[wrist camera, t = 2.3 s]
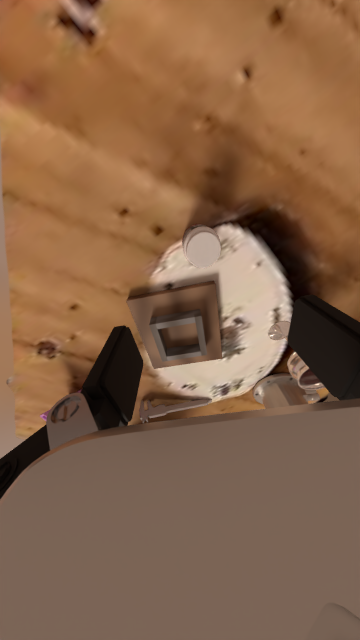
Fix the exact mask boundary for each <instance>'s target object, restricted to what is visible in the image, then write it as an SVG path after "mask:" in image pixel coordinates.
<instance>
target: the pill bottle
mask: <svg viewBox="0 0 360 640" xmlns="http://www.w3.org/2000/svg"><path fill="white" fill-rule="evenodd" d="M182 243H183V251H184V254H185V257H186V258H187V260H188V261H189V262H190V263H191V264H192V265H194V266H195V267H198V268H207V267H210V266H212V265H213V264H214V263H215V262H216V261H217V260H218V258H219V256H220V252H221V245H220V240H219V237H218V235H217V233H216V232H215V231H214V230H213V229H211V228H209V227H207V226H205V225H202V224H195V225H192V226H190V227H189V228H188V229H187V230H186V232H185V233H184V236H183V240H182Z"/></svg>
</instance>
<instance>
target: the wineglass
mask: <svg viewBox="0 0 360 640" xmlns="http://www.w3.org/2000/svg"><path fill="white" fill-rule="evenodd" d="M289 328H290V323H289V322H286V321H282V322H278V323H276V324H274V325H273V326H272V327H271V328H270V330H269V332H268V335H269V337H270V338H271V339H273V340H281V339H283V338H285V339H286V340H287V336H288V333H289ZM287 342H288V341H287ZM288 369H289V372H290V374H291V376H292V377H293V378H294V379H295V380H297V381H298V385H299V386H300V387H301V388H303V389H306V390H317V389H321V388H325V386H324V385H323V384H322V383H321V381H320V380H319V379H318V378H317V377H316V376H315V374H314V373H313V372H312V371H311V370H310V369H309V367H308V366H307V365H306V364H305V363H304V361H303V360H302V359H301V358H300V357H299V356H298V354H297V353H296V352H293V353H292V355H291V356H290V358H289V360H288Z"/></svg>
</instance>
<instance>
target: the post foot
mask: <svg viewBox="0 0 360 640" xmlns="http://www.w3.org/2000/svg"><path fill="white" fill-rule="evenodd" d="M127 304H128V306H129V309H130V311H131V314H132V316H133V318H134V321H135V323H136V326H137V328H138V331H139V333H140V336H141V338H142V341H143V343H144V345H145V348H146V350H147V353H148V355H149V358H150V360H151V363H152V365H153V367H154V369H156V368H163V367H169V366H176V365H182V364H189V363H196V362H202V361H209V360H216V359H222V350H221V339H220V328H219V317H218V306H217V295H216V284H215V282H214V281H210V282H205V283H200V284H195V285H190V286H185V287H179V288H174V289H169V290H164V291H159V292H154V293H149V294H143V295H138V296H133V297H128V299H127Z"/></svg>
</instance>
